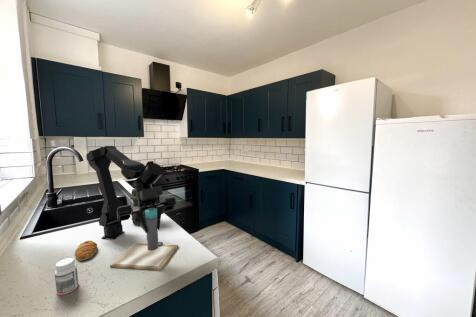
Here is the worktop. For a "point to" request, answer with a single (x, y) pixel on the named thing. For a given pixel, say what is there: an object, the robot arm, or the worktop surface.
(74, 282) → the pill bottle
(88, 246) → the pastry
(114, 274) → the worktop surface
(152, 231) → the ball
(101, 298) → the worktop surface
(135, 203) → the coffee jar
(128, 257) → the clipboard
